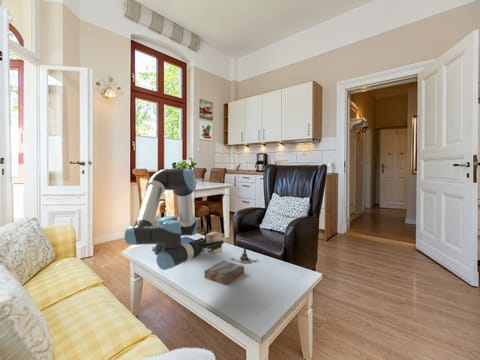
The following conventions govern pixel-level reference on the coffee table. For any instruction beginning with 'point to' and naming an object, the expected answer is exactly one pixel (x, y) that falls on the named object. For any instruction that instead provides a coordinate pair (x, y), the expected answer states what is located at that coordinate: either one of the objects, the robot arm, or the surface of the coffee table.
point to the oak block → (213, 238)
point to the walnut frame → (224, 272)
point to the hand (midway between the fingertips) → (220, 238)
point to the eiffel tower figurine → (242, 258)
